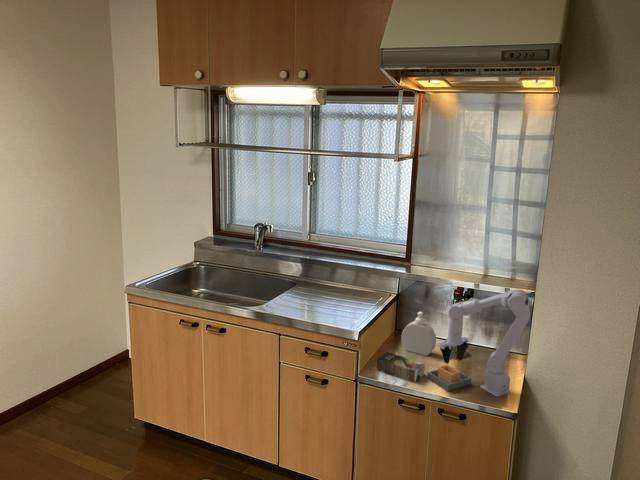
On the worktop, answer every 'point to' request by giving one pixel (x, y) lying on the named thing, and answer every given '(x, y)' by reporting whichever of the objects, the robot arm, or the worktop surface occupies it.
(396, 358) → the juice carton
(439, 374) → the orange crate
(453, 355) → the egg carton
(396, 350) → the worktop surface
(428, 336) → the soap bottle
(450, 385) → the charcoal bin
